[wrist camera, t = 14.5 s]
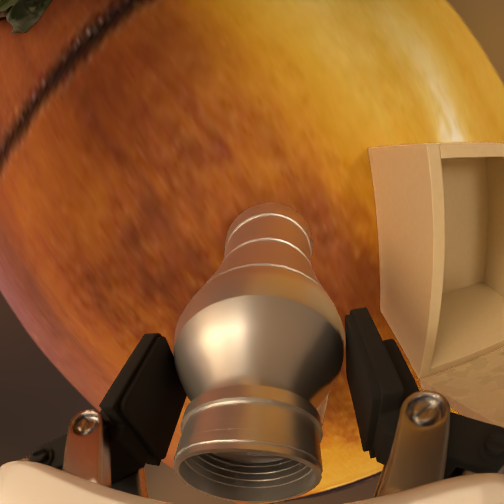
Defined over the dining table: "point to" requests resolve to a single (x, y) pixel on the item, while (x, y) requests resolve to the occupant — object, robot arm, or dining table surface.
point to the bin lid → (473, 387)
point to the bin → (441, 249)
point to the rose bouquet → (22, 13)
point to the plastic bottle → (257, 364)
